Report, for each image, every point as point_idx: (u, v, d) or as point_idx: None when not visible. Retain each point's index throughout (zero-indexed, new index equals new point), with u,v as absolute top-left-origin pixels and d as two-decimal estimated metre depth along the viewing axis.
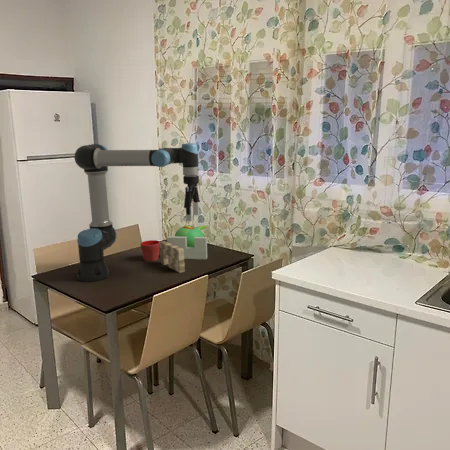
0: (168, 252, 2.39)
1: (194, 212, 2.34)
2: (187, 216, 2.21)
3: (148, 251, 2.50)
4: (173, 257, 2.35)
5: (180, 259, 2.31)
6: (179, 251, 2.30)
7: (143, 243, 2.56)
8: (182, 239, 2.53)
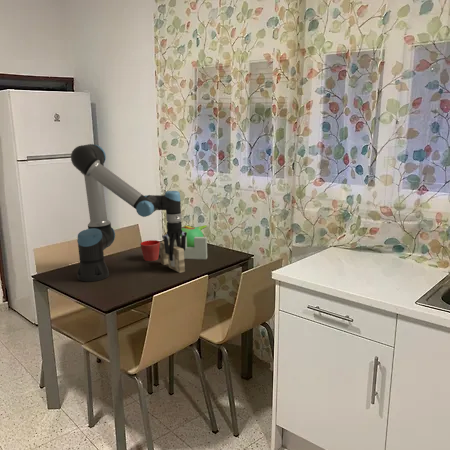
0: None
1: None
2: (171, 261, 2.36)
3: (148, 251, 2.50)
4: None
5: (180, 259, 2.31)
6: (179, 251, 2.30)
7: (143, 243, 2.56)
8: None
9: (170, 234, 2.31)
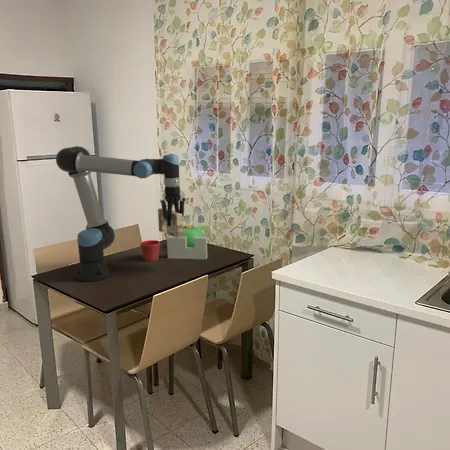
0: None
1: None
2: (169, 227, 2.32)
3: (148, 251, 2.50)
4: None
5: (178, 224, 2.27)
6: (177, 216, 2.26)
7: (143, 243, 2.56)
8: (182, 239, 2.53)
9: (168, 199, 2.26)
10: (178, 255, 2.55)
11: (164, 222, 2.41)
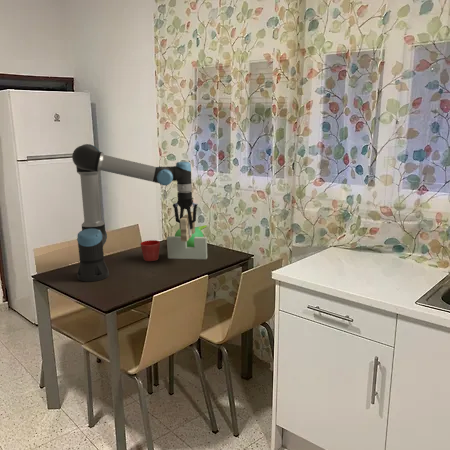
0: None
1: None
2: None
3: (148, 251, 2.50)
4: None
5: (181, 228, 2.38)
6: (181, 220, 2.37)
7: (143, 243, 2.56)
8: None
9: (179, 203, 2.40)
10: (178, 255, 2.55)
11: None
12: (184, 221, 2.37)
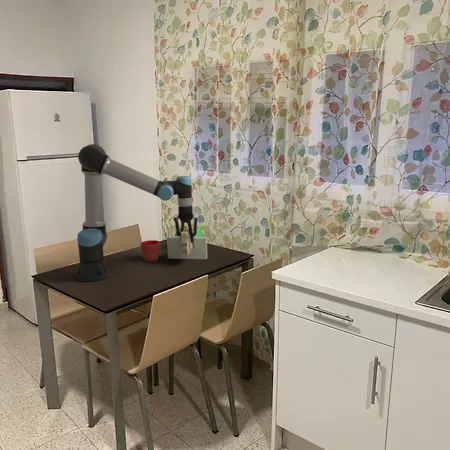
0: None
1: None
2: None
3: (148, 251, 2.50)
4: None
5: (182, 242, 2.40)
6: (181, 234, 2.39)
7: (143, 243, 2.56)
8: None
9: (179, 217, 2.42)
10: (178, 255, 2.55)
11: None
12: (185, 235, 2.39)
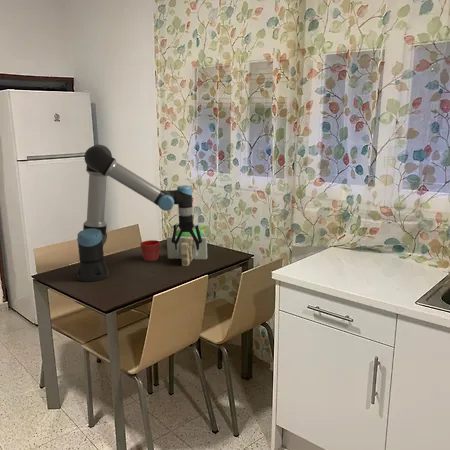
0: None
1: None
2: None
3: (148, 251, 2.50)
4: None
5: (182, 253, 2.41)
6: (182, 245, 2.40)
7: (143, 243, 2.56)
8: (182, 239, 2.53)
9: (179, 226, 2.43)
10: None
11: None
12: (185, 246, 2.40)
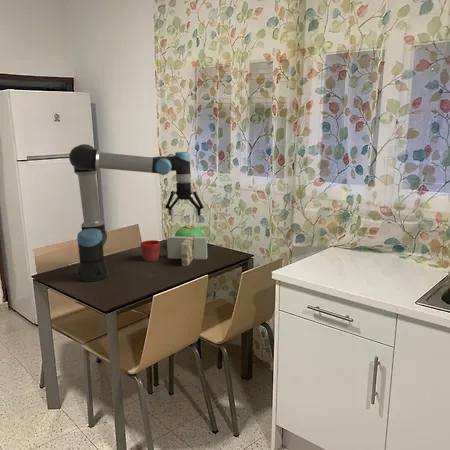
0: None
1: None
2: None
3: (148, 251, 2.50)
4: None
5: (182, 253, 2.41)
6: (182, 245, 2.40)
7: (143, 243, 2.56)
8: (182, 239, 2.53)
9: (177, 193, 2.39)
10: (178, 255, 2.55)
11: None
12: (185, 246, 2.40)
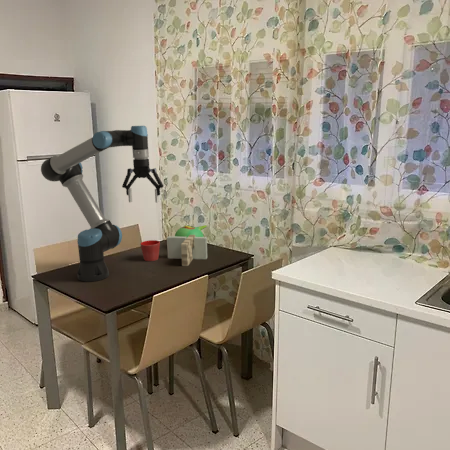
0: None
1: None
2: None
3: (148, 251, 2.50)
4: None
5: (182, 253, 2.41)
6: (182, 245, 2.40)
7: (143, 243, 2.56)
8: (182, 239, 2.53)
9: (134, 171, 2.20)
10: (178, 255, 2.55)
11: None
12: (185, 246, 2.40)
